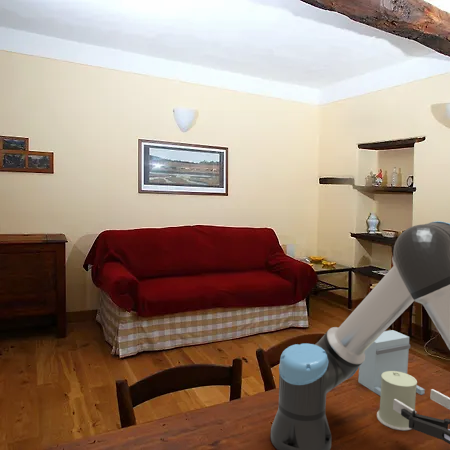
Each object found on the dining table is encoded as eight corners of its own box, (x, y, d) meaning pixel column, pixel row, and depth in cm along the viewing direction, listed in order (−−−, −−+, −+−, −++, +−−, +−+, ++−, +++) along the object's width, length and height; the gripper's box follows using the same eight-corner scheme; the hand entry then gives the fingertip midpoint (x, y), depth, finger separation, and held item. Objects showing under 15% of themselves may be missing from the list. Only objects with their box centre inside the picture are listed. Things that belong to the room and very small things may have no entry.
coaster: (391, 432, 108) (391, 430, 108) (369, 412, 118) (369, 410, 118) (424, 428, 111) (424, 425, 111) (400, 408, 120) (400, 406, 120)
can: (407, 410, 118) (410, 370, 117) (419, 428, 109) (422, 385, 108) (375, 407, 119) (377, 368, 118) (384, 426, 110) (386, 383, 109)
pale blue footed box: (424, 393, 129) (427, 344, 127) (390, 402, 123) (393, 351, 122) (390, 374, 142) (392, 329, 140) (358, 382, 136) (360, 335, 134)
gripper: (453, 477, 85) (376, 422, 104) (527, 447, 95) (445, 402, 114) (455, 443, 84) (378, 394, 104) (529, 416, 94) (446, 377, 114)
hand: (413, 398), depth 109 cm, fingers open, 13 cm apart
